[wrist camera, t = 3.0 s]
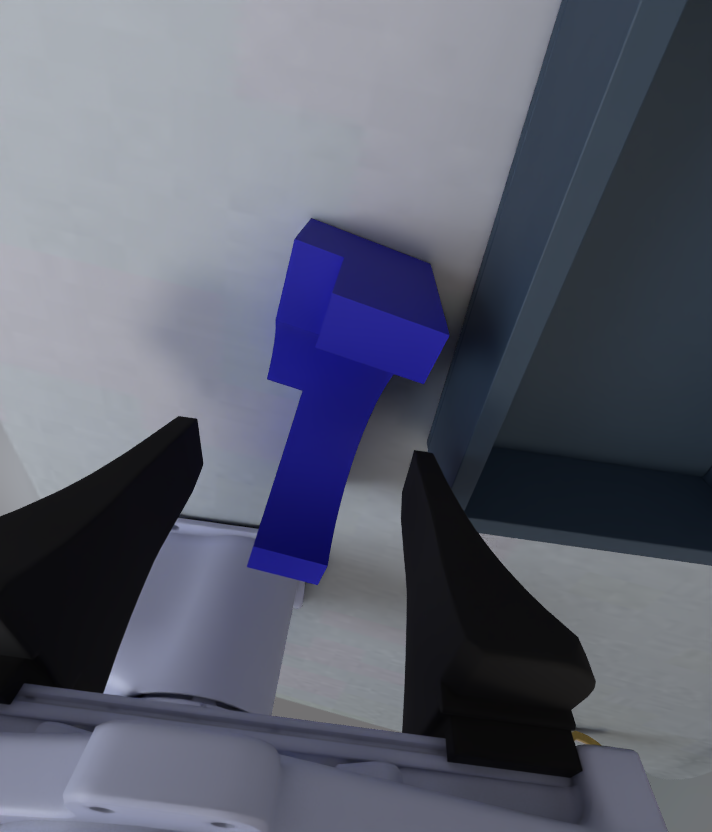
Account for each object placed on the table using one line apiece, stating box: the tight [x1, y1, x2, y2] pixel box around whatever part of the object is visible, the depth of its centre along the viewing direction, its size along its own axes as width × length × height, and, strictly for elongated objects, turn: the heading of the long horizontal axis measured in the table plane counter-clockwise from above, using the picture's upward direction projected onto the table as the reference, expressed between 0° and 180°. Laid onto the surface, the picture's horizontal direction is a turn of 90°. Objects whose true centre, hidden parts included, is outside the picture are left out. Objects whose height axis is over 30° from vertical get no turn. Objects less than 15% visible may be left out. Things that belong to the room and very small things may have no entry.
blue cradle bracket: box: [247, 218, 450, 585], centre depth 15 cm, size 12×4×6 cm, turn 161°
